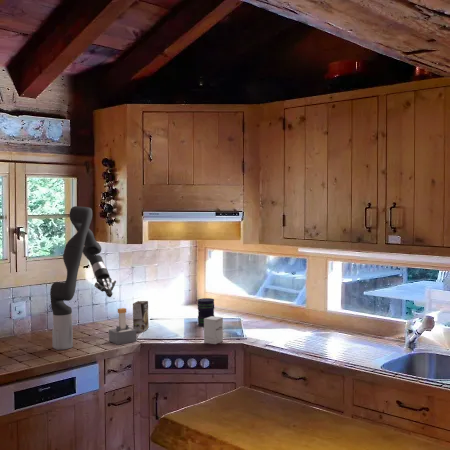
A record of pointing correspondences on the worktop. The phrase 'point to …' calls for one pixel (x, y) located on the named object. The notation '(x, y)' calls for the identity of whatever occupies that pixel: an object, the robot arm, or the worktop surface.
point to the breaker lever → (122, 318)
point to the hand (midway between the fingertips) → (110, 296)
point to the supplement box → (213, 330)
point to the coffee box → (140, 316)
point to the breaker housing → (122, 335)
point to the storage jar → (205, 310)
